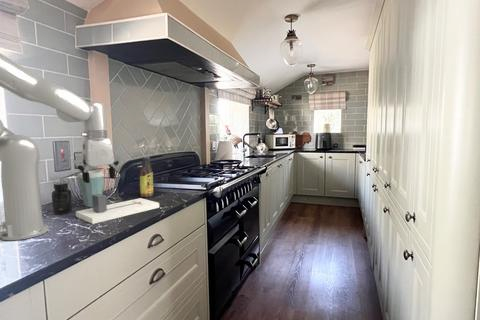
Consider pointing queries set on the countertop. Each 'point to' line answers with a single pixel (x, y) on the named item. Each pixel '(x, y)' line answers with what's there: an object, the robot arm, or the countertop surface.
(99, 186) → the disposable coffee cup
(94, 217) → the board
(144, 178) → the sauce bottle
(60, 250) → the countertop surface
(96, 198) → the fader tab
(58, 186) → the supplement bottle
